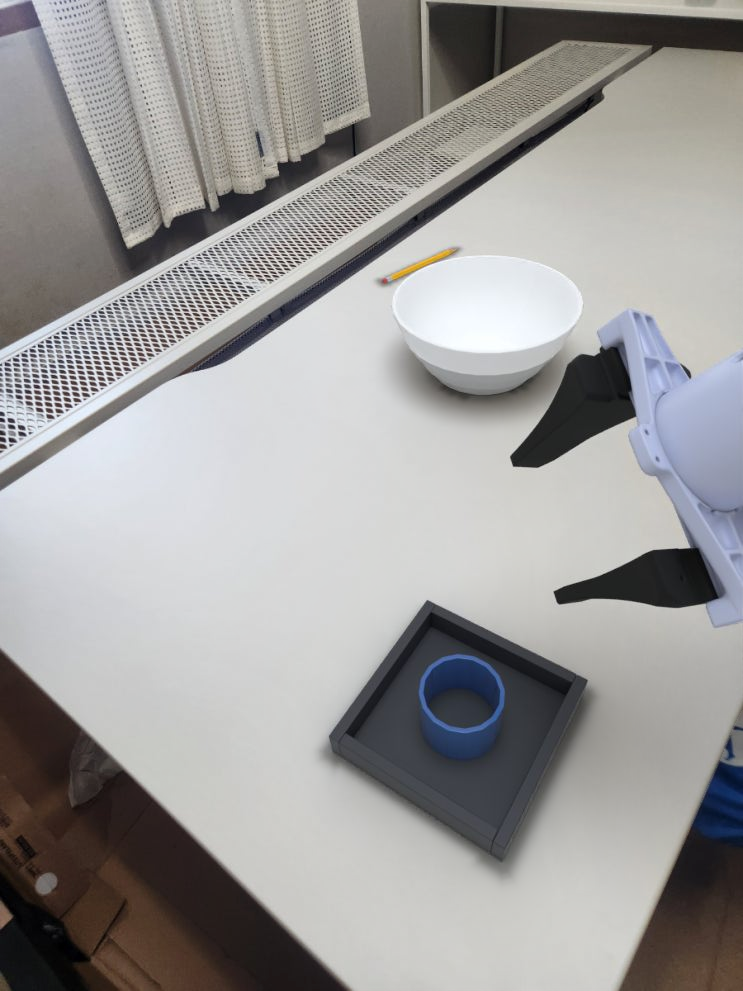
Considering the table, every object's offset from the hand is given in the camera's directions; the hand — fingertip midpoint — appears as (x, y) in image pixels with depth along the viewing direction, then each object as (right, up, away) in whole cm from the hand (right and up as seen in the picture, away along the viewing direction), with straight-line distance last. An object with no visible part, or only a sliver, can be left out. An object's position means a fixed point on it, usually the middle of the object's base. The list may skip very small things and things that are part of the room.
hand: (544, 526), depth 36 cm
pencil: (-2, +33, +56) cm, 65 cm away
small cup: (-3, -14, +10) cm, 18 cm away
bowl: (+3, +16, +39) cm, 42 cm away
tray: (-3, -14, +10) cm, 18 cm away
